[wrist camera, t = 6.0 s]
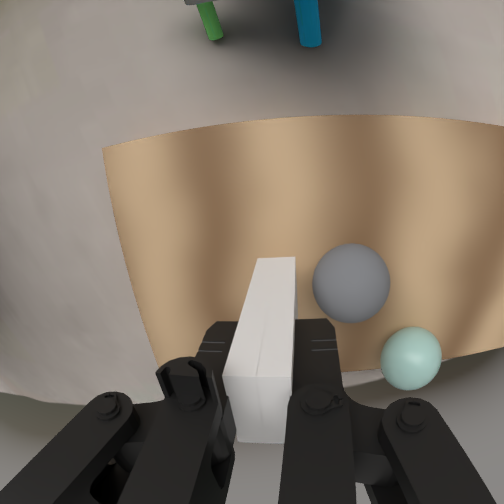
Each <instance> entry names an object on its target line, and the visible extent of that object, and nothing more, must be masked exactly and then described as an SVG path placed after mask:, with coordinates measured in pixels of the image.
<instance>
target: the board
mask: <svg viewBox="0 0 504 504" xmlns="http://www.w3.org/2000/svg"><path fill="white" fill-rule="evenodd" d="M102 151H103V158H104V164H105V170H106V176H107V182H108V187H109V192H110V197H111V202H112V207H113V212H114V217H115V221H116V226H117V230H118V235H119V239H120V243H121V247H122V251H123V255H124V259H125V263H126V266H127V270H128V274H129V277H130V281H131V285H132V288H133V291H134V295H135V298H136V302H137V305H138V308H139V311H140V314H141V318H142V321H143V324H144V327H145V330H146V333H147V336H148V339H149V342H150V344H151V347H152V350H153V353H154V356H155V358H156V361H157V364H158V367H159V368H160V367H161V366H162V365H163V364H165V363H166V362H168V361H170V360H173V359H176V358H179V357H189V356H192V357H195V356H196V354H197V352H198V349H199V347H200V344H201V343H202V340H203V337H204V335H205V333H206V330H207V329H209V328H210V327H211V326H212V325H213V324H214V323H215V322H216V321H239V318H240V315H241V312H242V308H243V305H244V302H245V299H246V295H247V292H248V289H249V285H250V282H251V279H252V275H253V272H254V269H255V265H256V262H257V259H258V258H276V257H295V258H296V278H297V303H298V319H317V318H327V319H328V320H329V321H330V322H331V324H332V325H333V326H334V327H335V332H336V341H337V346H338V354H339V361H340V369H341V372H348V371H360V370H371V369H380V368H381V365H380V358H381V352H382V349H383V347H384V345H385V343H386V342H387V340H388V339H389V338H390V337H391V336H392V335H393V334H394V333H395V332H397V331H399V330H401V329H403V328H406V327H413V326H414V327H421V328H424V329H426V330H428V331H430V332H431V333H432V334H433V335H434V336H435V337H436V338H437V340H438V342H439V344H440V347H441V352H442V359H441V360H444V359H449V358H454V357H459V356H465V355H470V354H474V353H479V352H483V351H487V350H492V349H496V348H500V347H504V126H498V125H491V124H485V123H478V122H470V121H462V120H453V119H443V118H431V117H417V116H397V115H323V116H302V117H287V118H275V119H264V120H254V121H245V122H236V123H228V124H221V125H214V126H207V127H201V128H194V129H188V130H183V131H177V132H172V133H166V134H161V135H156V136H152V137H147V138H142V139H138V140H133V141H129V142H125V143H120V144H116V145H112V146H108V147H105V148H102ZM350 243H354V244H361V245H364V246H367V247H369V248H371V249H373V250H374V251H375V252H377V253H378V254H379V255H380V256H381V258H382V259H383V260H384V262H385V264H386V266H387V268H388V271H389V274H390V291H389V295H388V298H387V300H386V302H385V304H384V305H383V307H382V308H381V309H380V311H379V312H378V313H376V314H375V315H374V316H373V317H371V318H369V319H367V320H365V321H362V322H359V323H343V322H339V321H336V320H334V319H332V318H330V317H329V316H328V315H326V314H325V313H324V312H323V311H322V310H321V309H320V307H319V306H318V304H317V302H316V300H315V297H314V294H313V289H312V279H313V274H314V270H315V268H316V266H317V264H318V262H319V261H320V259H321V258H322V257H323V256H324V255H325V254H326V253H327V252H328V251H330V250H331V249H333V248H335V247H337V246H339V245H343V244H350Z"/></svg>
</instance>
